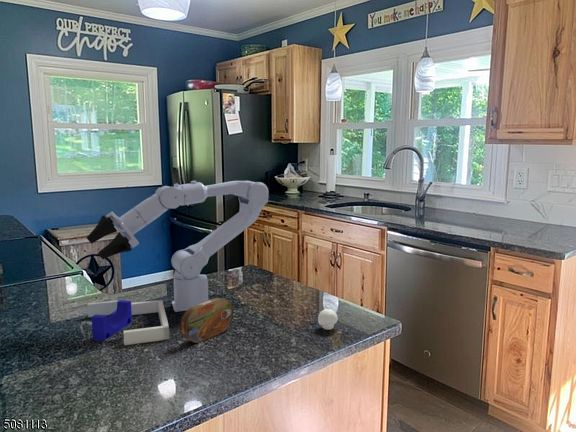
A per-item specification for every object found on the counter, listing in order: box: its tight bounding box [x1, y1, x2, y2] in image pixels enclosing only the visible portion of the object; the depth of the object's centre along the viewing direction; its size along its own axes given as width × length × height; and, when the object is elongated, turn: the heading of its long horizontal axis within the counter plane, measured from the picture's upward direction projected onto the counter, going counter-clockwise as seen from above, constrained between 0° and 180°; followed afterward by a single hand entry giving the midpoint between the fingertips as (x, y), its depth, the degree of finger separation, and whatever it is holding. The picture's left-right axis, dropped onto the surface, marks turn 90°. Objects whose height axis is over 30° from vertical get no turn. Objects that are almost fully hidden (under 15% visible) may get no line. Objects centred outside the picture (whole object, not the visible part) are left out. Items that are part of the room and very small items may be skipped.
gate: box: [86, 298, 123, 318], centre depth 117 cm, size 1×8×4 cm, turn 110°
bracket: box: [123, 299, 170, 346], centre depth 110 cm, size 10×20×3 cm, turn 20°
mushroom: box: [317, 308, 339, 331], centre depth 109 cm, size 5×5×5 cm
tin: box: [180, 297, 234, 344], centre depth 105 cm, size 15×3×8 cm, turn 143°
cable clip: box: [91, 299, 133, 342], centre depth 107 cm, size 12×4×6 cm, turn 169°
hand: (94, 248), depth 111 cm, fingers open, 7 cm apart
